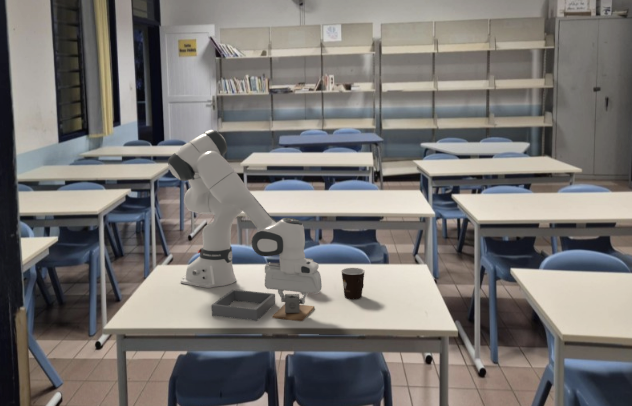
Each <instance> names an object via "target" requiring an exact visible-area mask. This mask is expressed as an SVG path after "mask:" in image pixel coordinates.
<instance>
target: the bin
mask: <svg viewBox="0 0 632 406" xmlns="http://www.w3.org/2000/svg"><path fill="white" fill-rule="evenodd" d="M233 302H241V303H250V304H252V303H253V304H258V305H257V306H256V307H255V308H252V307H245V306H236V305H235V306H234V305H231V304H233ZM275 305H276V293H272V292H271V293H269V292H260V291H253V290H252V291H250V290H242V289H241V290H240V289H231V290H230V291H228V293H225V294H224V295H223V296H222V297H220V298H219V299H217V300H216V301H215V302H213V303H212V304H211V316H212V317H218V318H229V319H237V320H245V321H246V320H248V321H253V322H254V321H255V322H257V321H259V319H261V318H262V317H263V316H264V315H265V314H266V313H267V312H269V311H270V310H271V309H272V308H273V307H274V306H275Z"/></svg>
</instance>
